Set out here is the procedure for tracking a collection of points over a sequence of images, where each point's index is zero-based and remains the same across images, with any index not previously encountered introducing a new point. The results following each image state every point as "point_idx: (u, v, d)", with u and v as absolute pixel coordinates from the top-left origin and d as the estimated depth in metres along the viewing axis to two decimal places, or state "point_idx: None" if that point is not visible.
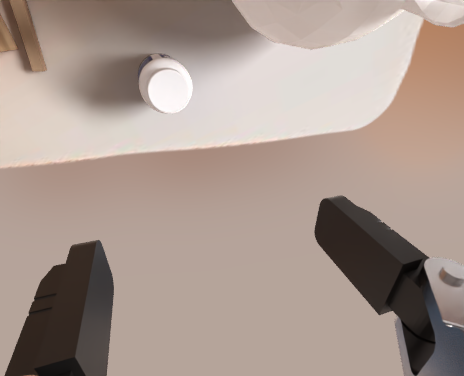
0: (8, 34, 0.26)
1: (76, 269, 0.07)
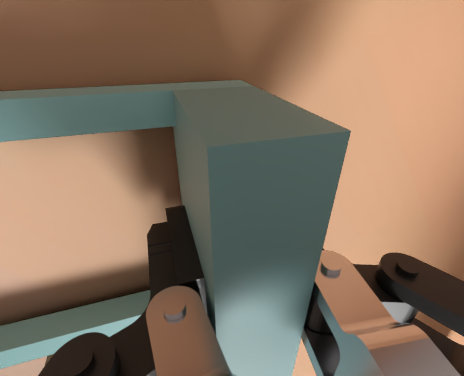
0: None
1: (178, 224, 0.08)
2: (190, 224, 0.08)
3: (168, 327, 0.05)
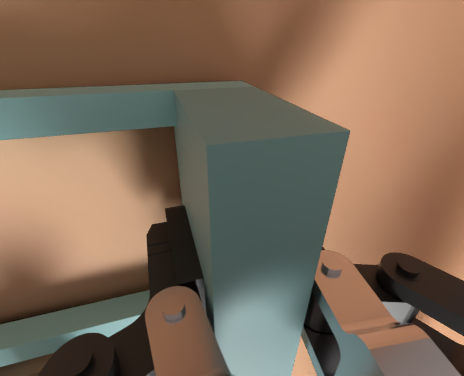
0: None
1: (177, 224, 0.08)
2: (190, 224, 0.08)
3: (167, 327, 0.05)
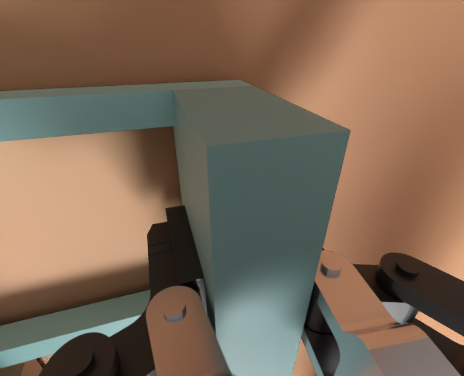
0: None
1: (178, 224, 0.08)
2: (190, 224, 0.08)
3: (168, 327, 0.05)
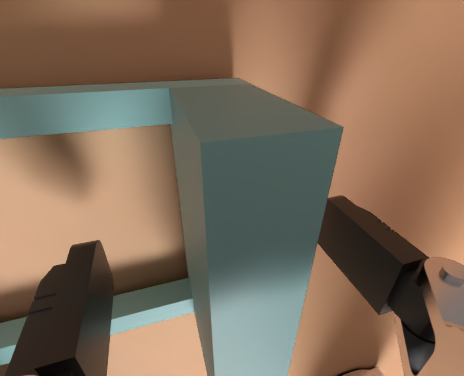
0: None
1: (76, 269, 0.07)
2: (187, 221, 0.08)
3: None
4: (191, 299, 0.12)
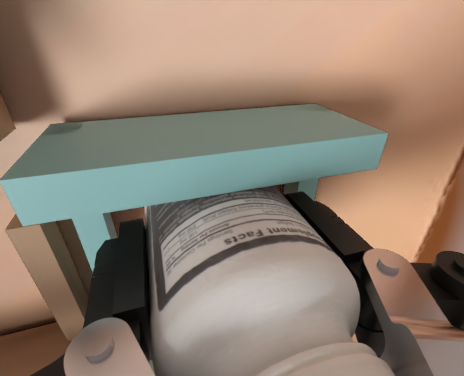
0: None
1: (129, 241, 0.08)
2: None
3: (86, 370, 0.05)
4: None
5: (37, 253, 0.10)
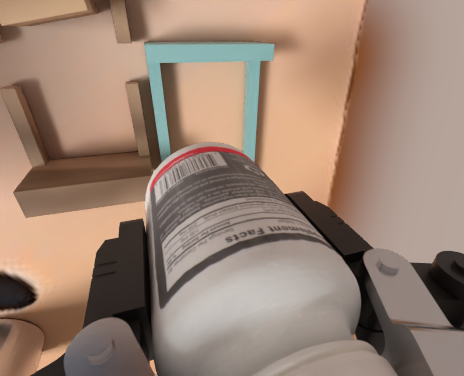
0: None
1: (129, 241, 0.08)
2: None
3: (86, 370, 0.05)
4: None
5: (134, 98, 0.23)
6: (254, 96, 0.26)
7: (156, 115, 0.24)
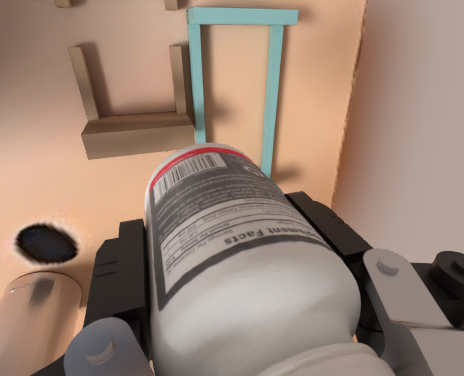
0: None
1: (129, 241, 0.08)
2: None
3: (86, 370, 0.05)
4: None
5: (177, 60, 0.26)
6: (277, 61, 0.29)
7: (194, 76, 0.28)
